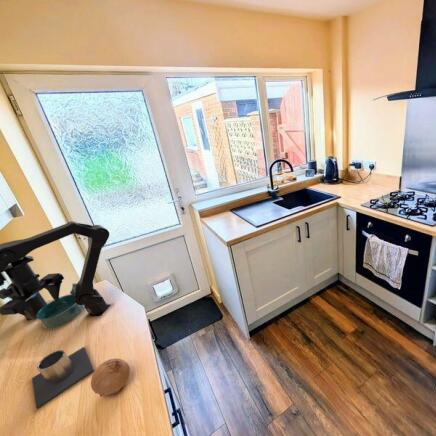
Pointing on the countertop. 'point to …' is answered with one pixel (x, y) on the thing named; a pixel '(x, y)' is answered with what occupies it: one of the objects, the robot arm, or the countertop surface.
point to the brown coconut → (110, 376)
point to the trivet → (50, 391)
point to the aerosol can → (32, 302)
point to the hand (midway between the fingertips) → (46, 309)
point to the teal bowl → (59, 312)
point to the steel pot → (56, 367)
